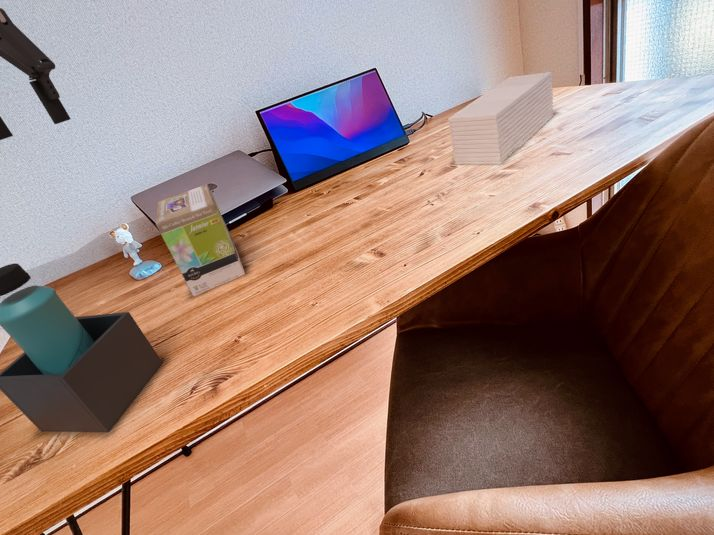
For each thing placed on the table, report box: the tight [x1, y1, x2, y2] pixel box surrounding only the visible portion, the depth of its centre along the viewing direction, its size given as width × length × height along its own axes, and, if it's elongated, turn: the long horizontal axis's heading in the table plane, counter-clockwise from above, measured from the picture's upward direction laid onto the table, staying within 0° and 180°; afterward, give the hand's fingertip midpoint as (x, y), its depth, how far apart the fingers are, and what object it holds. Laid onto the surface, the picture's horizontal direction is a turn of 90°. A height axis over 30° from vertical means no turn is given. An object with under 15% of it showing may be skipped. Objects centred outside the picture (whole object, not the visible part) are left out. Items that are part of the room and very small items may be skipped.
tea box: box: [155, 184, 246, 297], centre depth 78 cm, size 15×10×15 cm
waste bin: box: [0, 311, 164, 433], centre depth 54 cm, size 11×11×10 cm
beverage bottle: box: [0, 262, 95, 375], centre depth 51 cm, size 6×7×20 cm
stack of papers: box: [447, 71, 554, 165], centre depth 99 cm, size 32×11×11 cm, turn 141°
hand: (33, 130), depth 71 cm, fingers open, 13 cm apart
